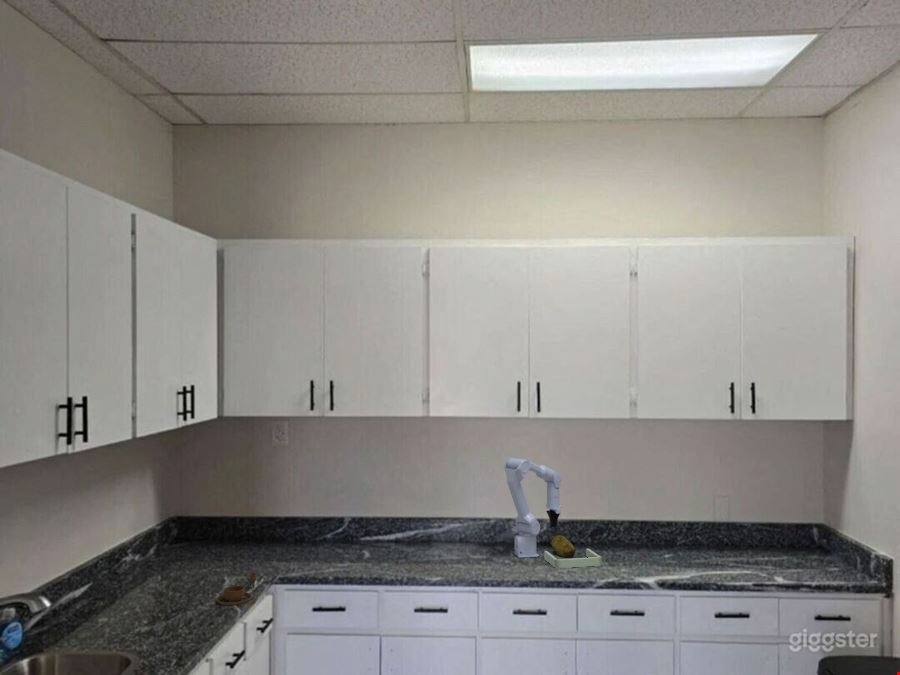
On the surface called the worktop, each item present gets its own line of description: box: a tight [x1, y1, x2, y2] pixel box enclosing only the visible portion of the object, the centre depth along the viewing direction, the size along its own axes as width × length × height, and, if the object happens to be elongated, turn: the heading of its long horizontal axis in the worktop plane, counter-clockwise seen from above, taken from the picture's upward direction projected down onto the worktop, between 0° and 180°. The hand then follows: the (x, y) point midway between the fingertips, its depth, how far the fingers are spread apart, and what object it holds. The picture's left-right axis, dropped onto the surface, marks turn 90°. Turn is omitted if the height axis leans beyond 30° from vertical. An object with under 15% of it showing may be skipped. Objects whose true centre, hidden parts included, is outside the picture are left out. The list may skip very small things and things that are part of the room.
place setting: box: [216, 572, 258, 607], centre depth 254 cm, size 18×20×6 cm
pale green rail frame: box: [543, 548, 603, 570], centre depth 297 cm, size 20×15×4 cm
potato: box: [550, 534, 576, 558], centre depth 309 cm, size 8×13×8 cm, turn 11°
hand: (553, 526), depth 321 cm, fingers closed
